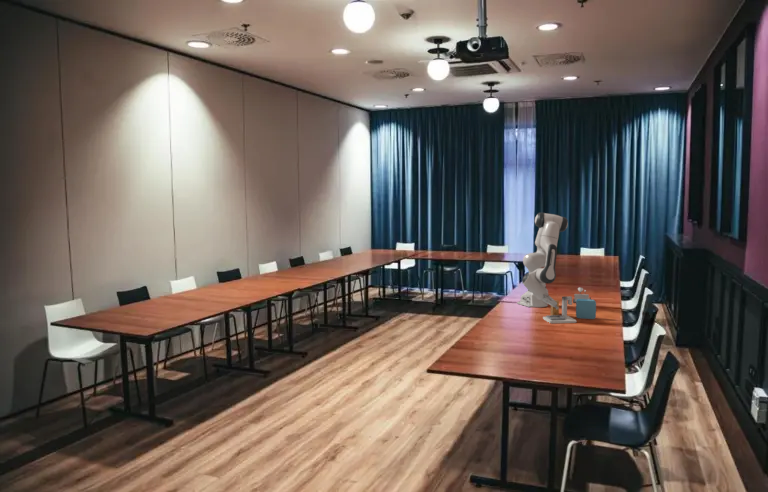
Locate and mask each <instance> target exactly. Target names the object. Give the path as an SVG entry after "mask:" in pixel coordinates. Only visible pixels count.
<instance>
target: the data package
mask: <svg viewBox="0 0 768 492" xmlns="http://www.w3.org/2000/svg"><path fill="white" fill-rule="evenodd" d="M575 316H576V318H577V319H587V320H588V319H589V320H595V319H596V316H597V301H596V300H595V299H591V300H589V299H577V300H576V302H575Z"/></svg>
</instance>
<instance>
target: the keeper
mask: <svg viewBox="0 0 768 492" xmlns="http://www.w3.org/2000/svg"><path fill="white" fill-rule="evenodd" d="M572 305H573V297H572V295H569V296H561V314H559V315H551V314H549V315H545V316H542V319H543V320H544V321H545V322H547V323H548V322H549V324H550V323H551V324H575V323H577V320H576V319H575V318H573V317H571V316H570V315H568V306H572Z"/></svg>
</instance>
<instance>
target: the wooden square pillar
mask: <svg viewBox="0 0 768 492" xmlns="http://www.w3.org/2000/svg"><path fill="white" fill-rule="evenodd" d="M554 300H555V301H556V302H557V306H558V307H560V305H559V303H560V301H559V300H557V299H554ZM559 311H560V308H558V309H556V308H555V307H553V306H551V305H550V315H560V314H559V313H560V312H559Z"/></svg>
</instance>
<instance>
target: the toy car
mask: <svg viewBox="0 0 768 492" xmlns="http://www.w3.org/2000/svg"><path fill="white" fill-rule="evenodd" d="M577 291H578V292H579V293H574V296H573V297H574V298H572V304H575V303H576V300H577V299H589V300H592V299H591V298H592V297H591V296H589V295H590V294H586V291H587V290H586V289H584V288H583V287H578V288H577ZM583 291H584V293H582V294H581V292H583Z"/></svg>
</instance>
